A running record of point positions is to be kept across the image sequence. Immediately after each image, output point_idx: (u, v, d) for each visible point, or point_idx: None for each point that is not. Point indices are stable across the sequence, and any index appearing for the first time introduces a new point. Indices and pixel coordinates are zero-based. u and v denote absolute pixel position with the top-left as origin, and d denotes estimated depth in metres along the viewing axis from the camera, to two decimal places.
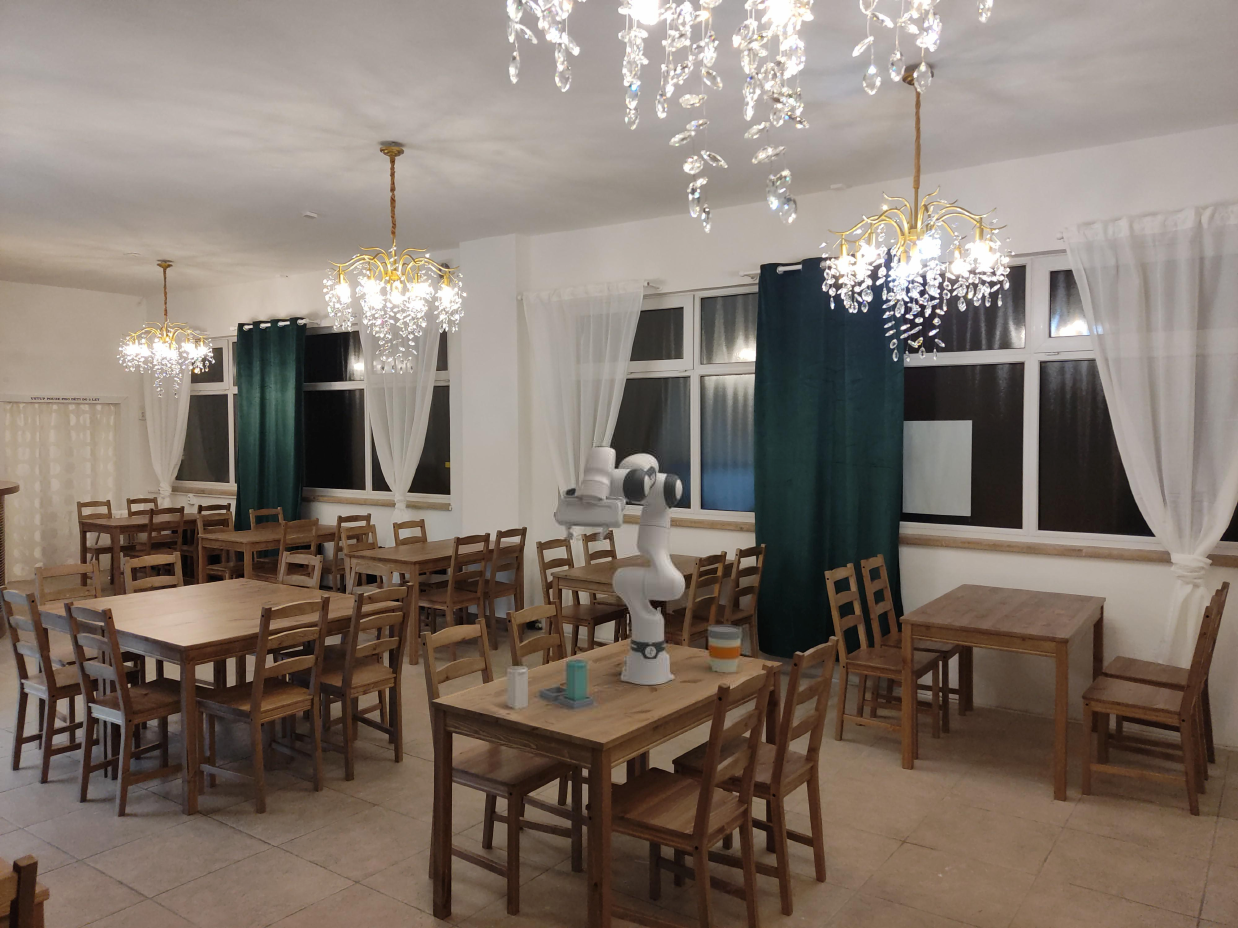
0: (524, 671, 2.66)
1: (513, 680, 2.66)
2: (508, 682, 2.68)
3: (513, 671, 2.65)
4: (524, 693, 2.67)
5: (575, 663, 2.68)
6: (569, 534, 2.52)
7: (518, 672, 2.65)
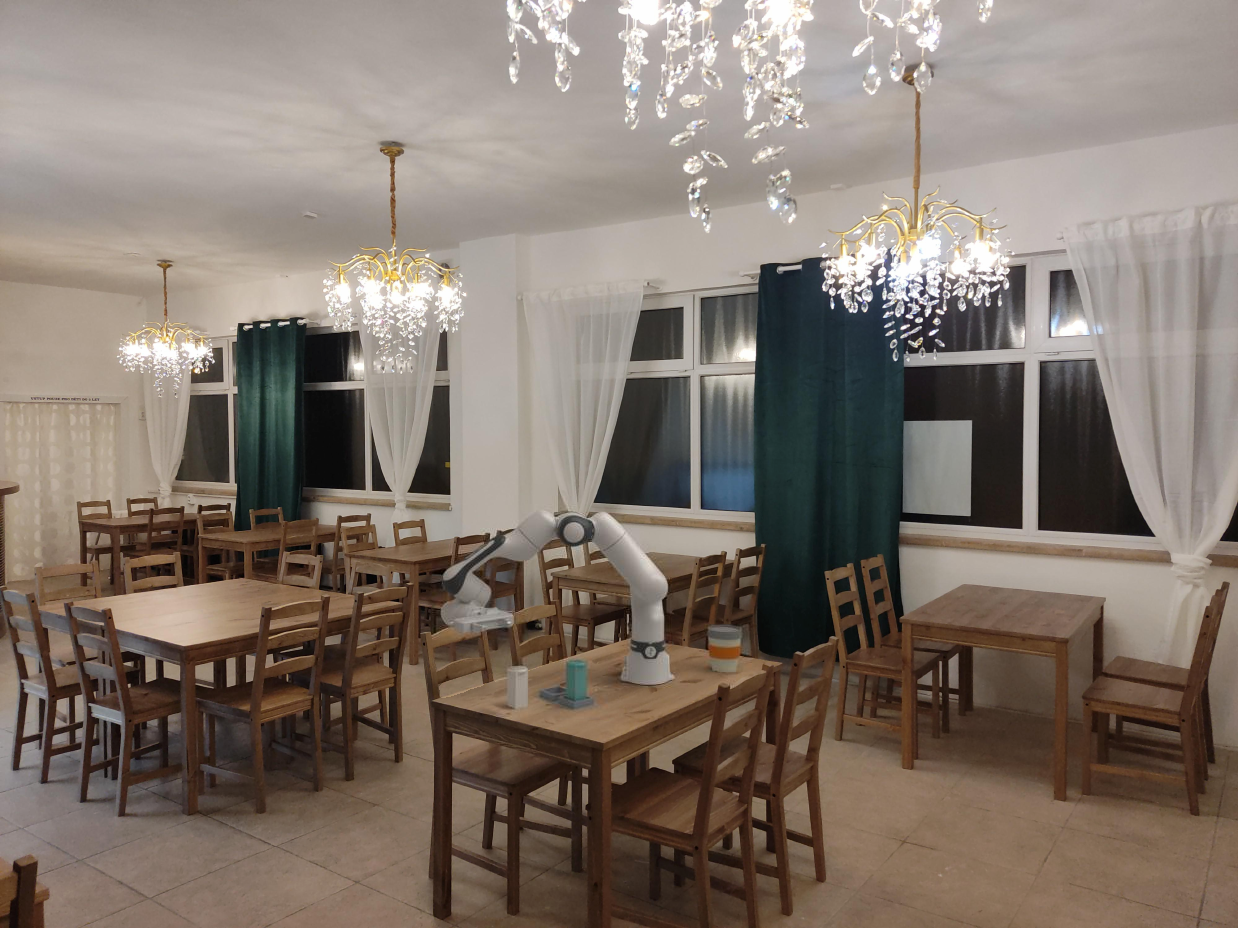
0: (524, 671, 2.66)
1: (513, 680, 2.66)
2: (508, 682, 2.68)
3: (513, 671, 2.65)
4: (524, 693, 2.67)
5: (575, 663, 2.68)
6: None
7: (518, 672, 2.65)
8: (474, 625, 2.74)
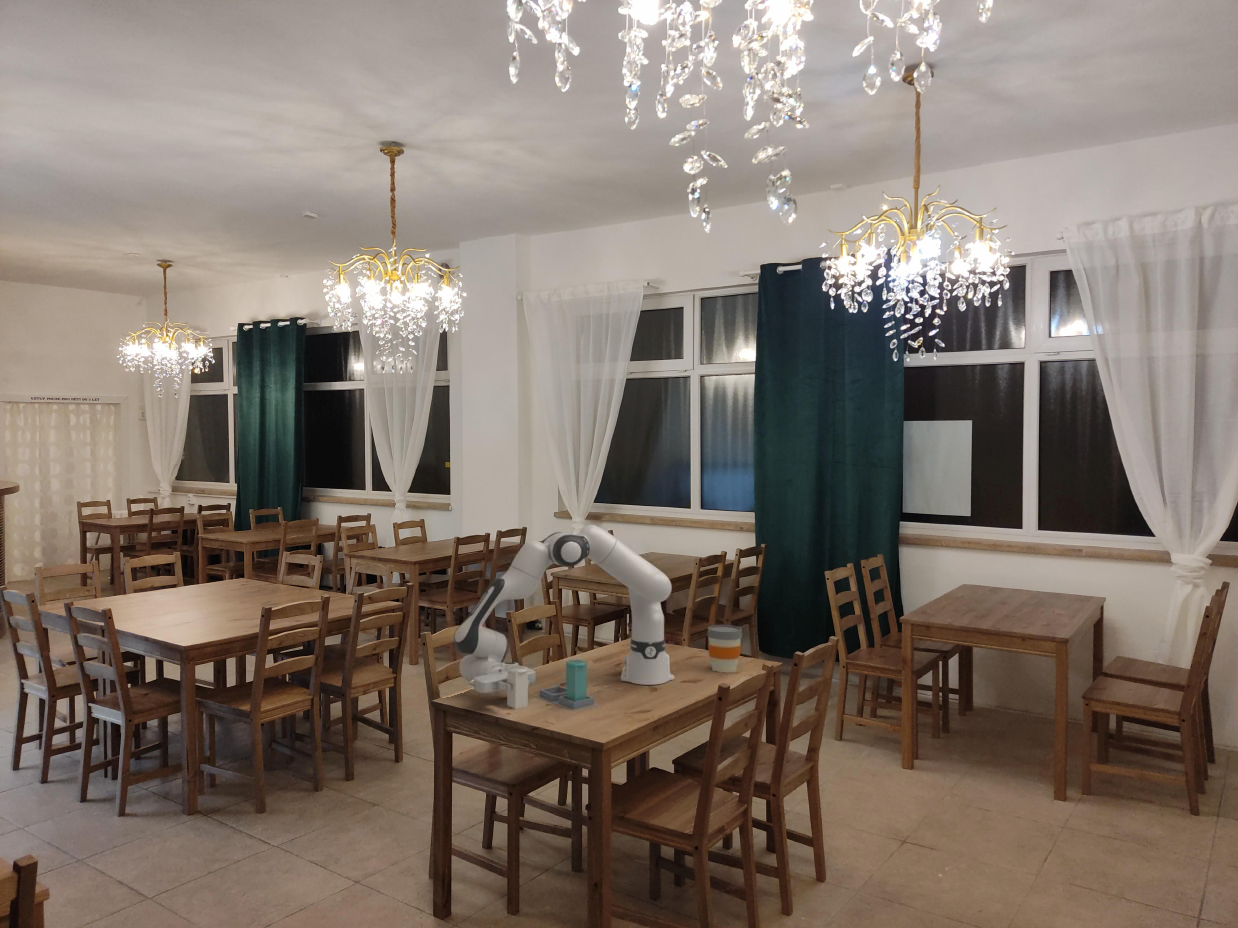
0: (524, 671, 2.66)
1: (513, 680, 2.66)
2: (508, 682, 2.68)
3: (513, 671, 2.65)
4: (524, 693, 2.67)
5: (575, 663, 2.68)
6: None
7: (518, 672, 2.65)
8: (500, 683, 2.67)
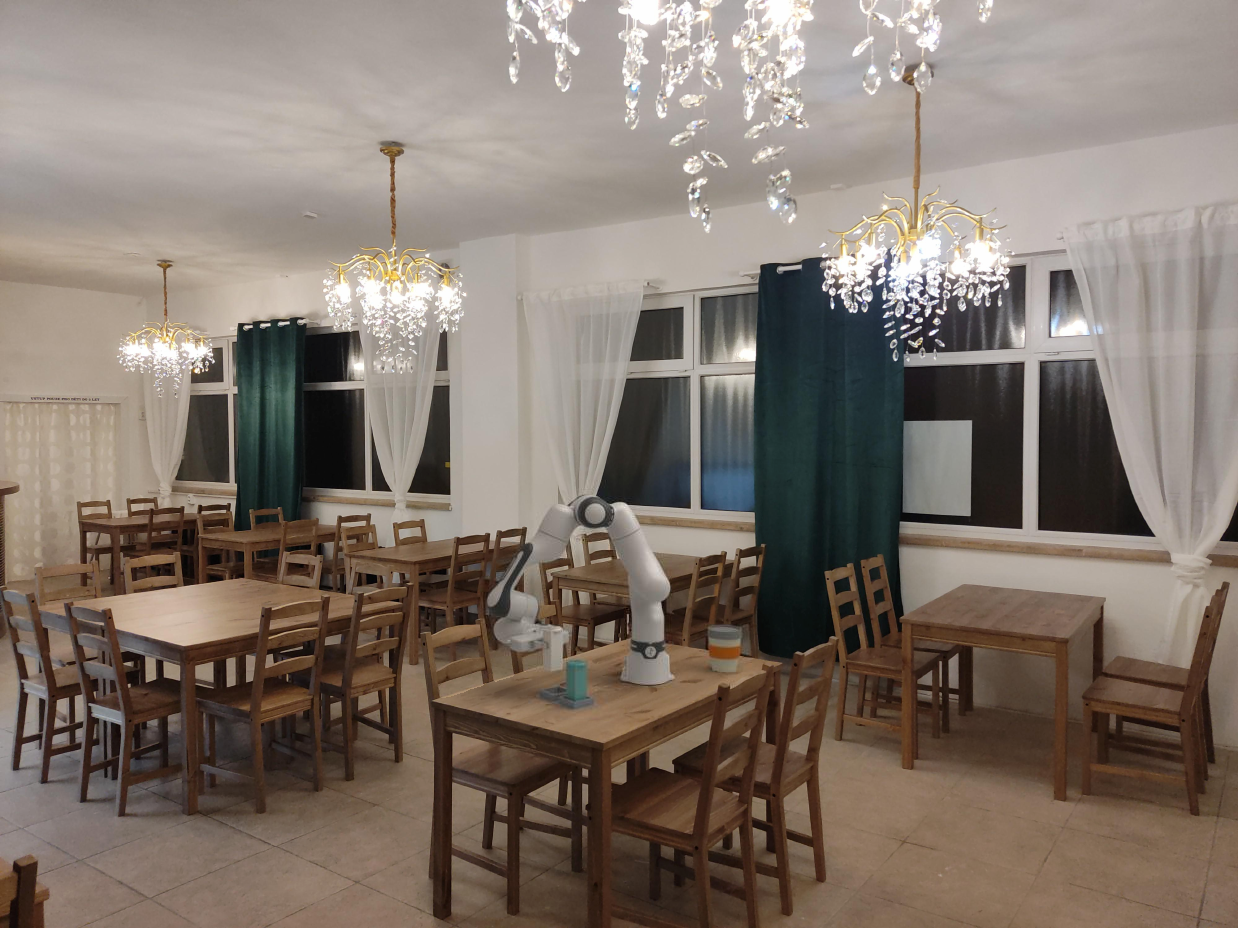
0: (559, 630, 2.75)
1: (549, 639, 2.74)
2: (543, 641, 2.76)
3: (548, 630, 2.74)
4: (559, 651, 2.75)
5: (575, 663, 2.68)
6: None
7: (553, 631, 2.73)
8: (536, 642, 2.75)
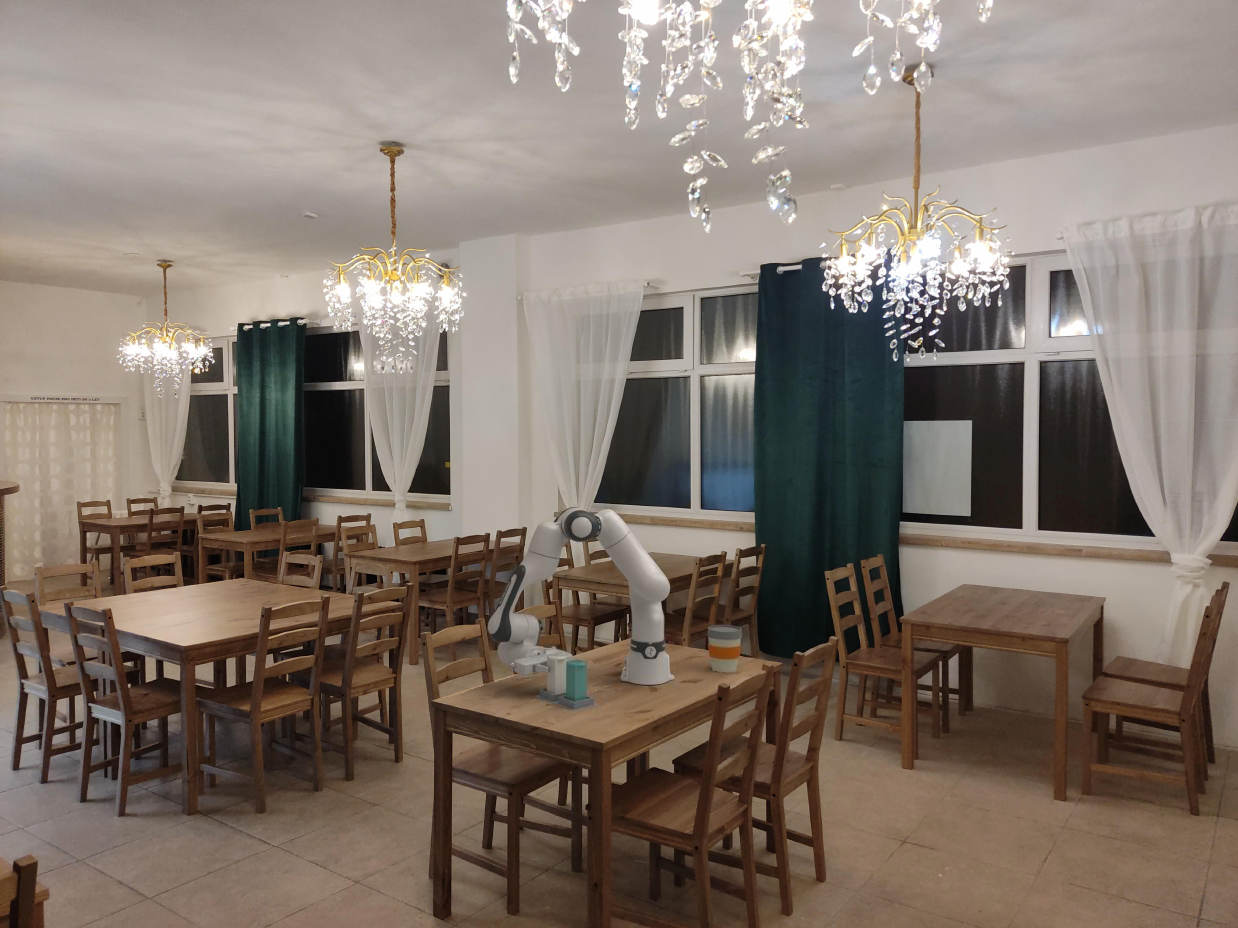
0: (563, 658, 2.76)
1: (553, 667, 2.75)
2: None
3: (553, 658, 2.75)
4: (563, 679, 2.77)
5: (575, 663, 2.68)
6: None
7: (558, 659, 2.75)
8: (538, 666, 2.76)
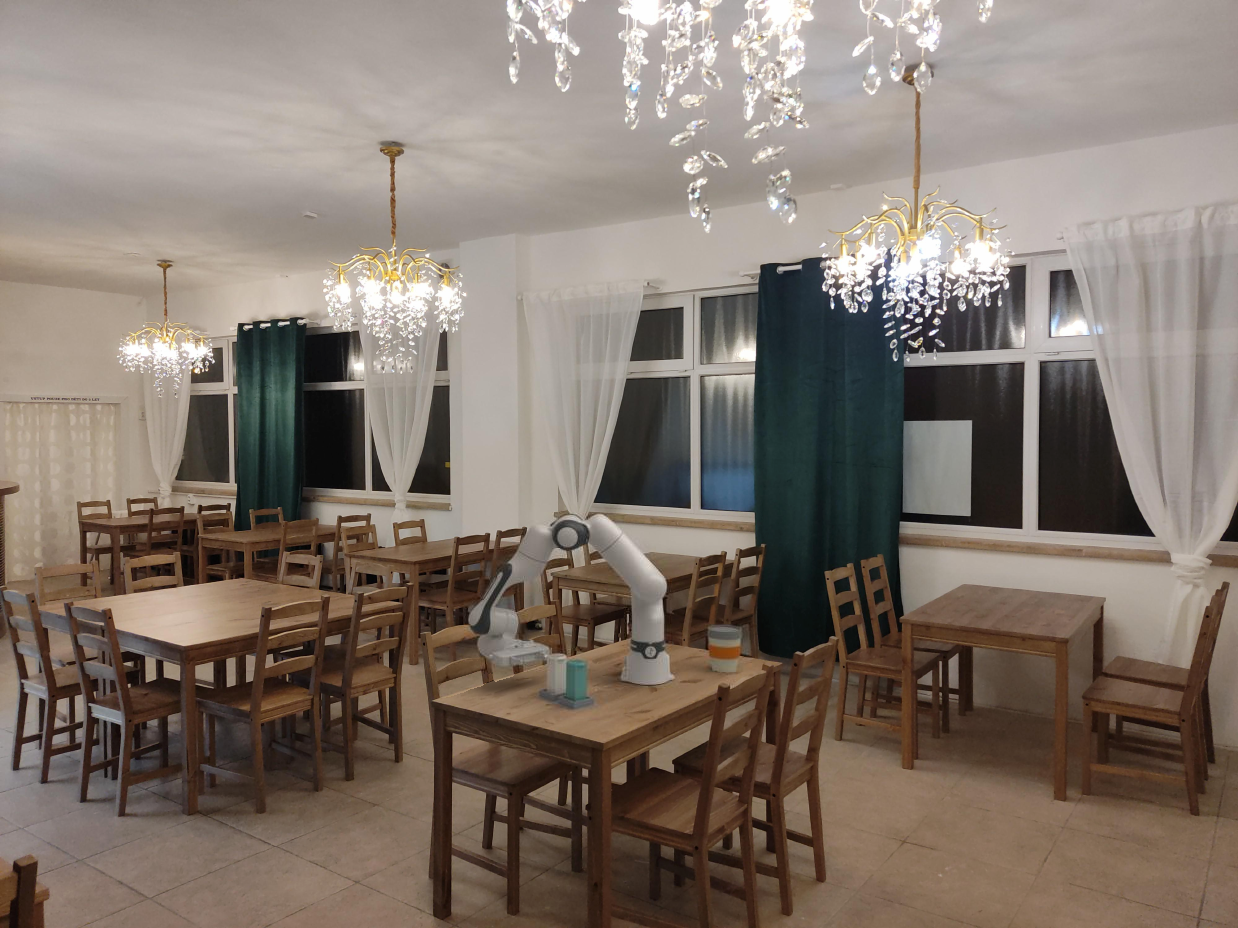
0: (563, 658, 2.76)
1: (553, 667, 2.75)
2: (548, 669, 2.78)
3: (553, 658, 2.75)
4: (563, 679, 2.77)
5: (575, 663, 2.68)
6: None
7: (558, 659, 2.75)
8: (513, 659, 2.85)
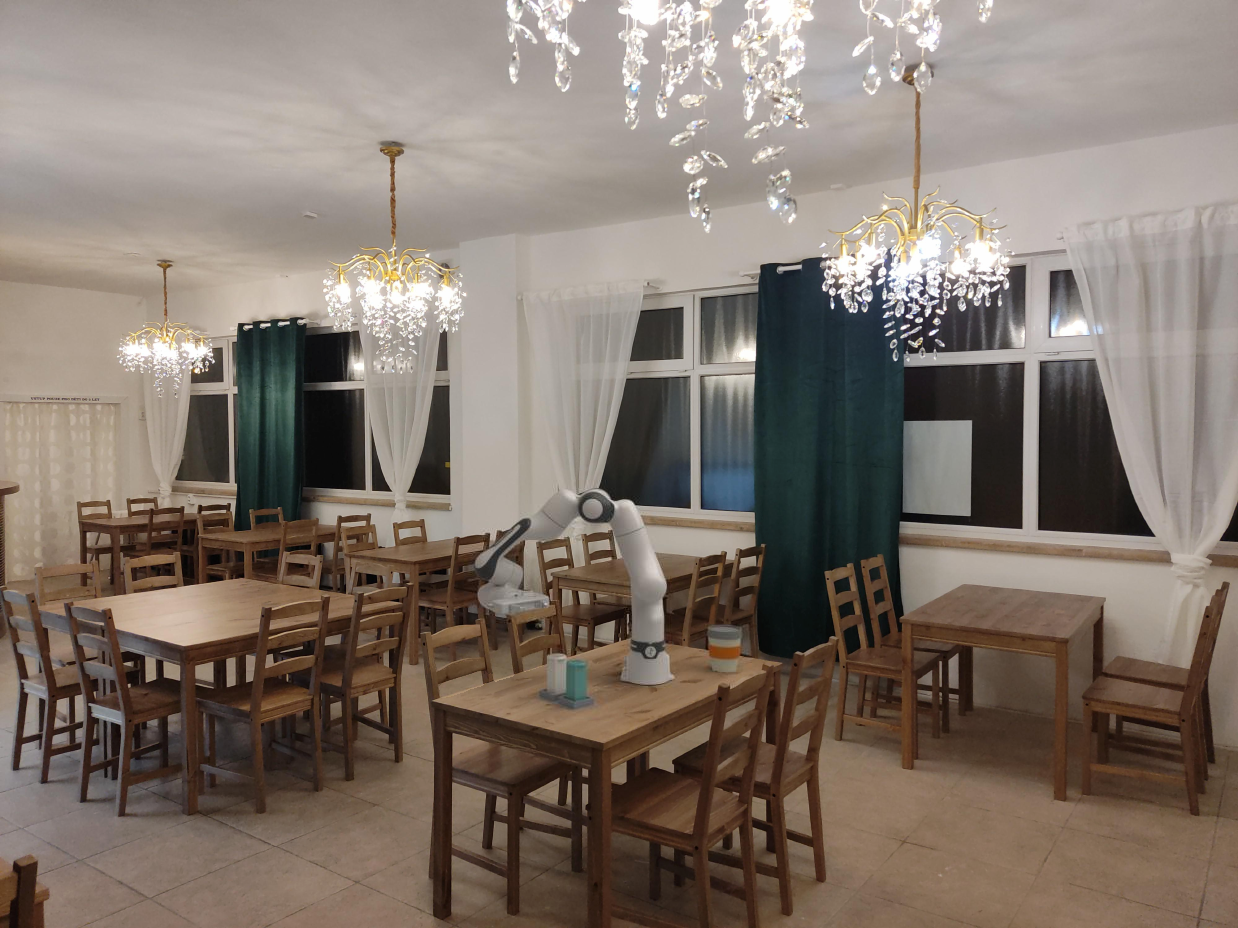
0: (563, 658, 2.76)
1: (553, 667, 2.75)
2: (548, 669, 2.78)
3: (553, 658, 2.75)
4: (563, 679, 2.77)
5: (575, 663, 2.68)
6: None
7: (558, 659, 2.75)
8: (513, 606, 2.85)
